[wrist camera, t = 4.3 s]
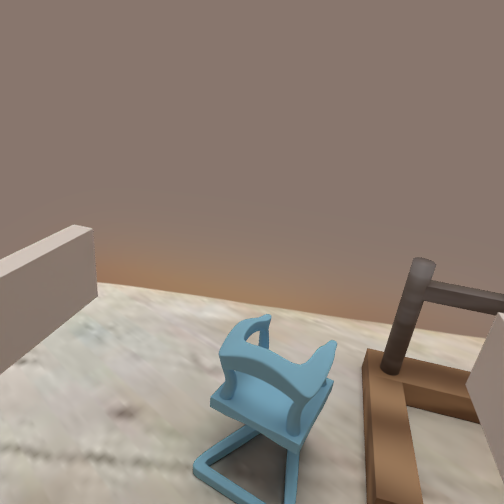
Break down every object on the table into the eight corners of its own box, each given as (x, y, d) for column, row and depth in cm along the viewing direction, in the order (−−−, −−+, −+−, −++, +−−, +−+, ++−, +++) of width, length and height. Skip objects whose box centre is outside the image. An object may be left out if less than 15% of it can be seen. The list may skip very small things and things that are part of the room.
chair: (328, 443, 31) (361, 322, 26) (286, 537, 24) (319, 398, 19) (247, 401, 34) (262, 286, 29) (190, 474, 27) (197, 340, 22)
